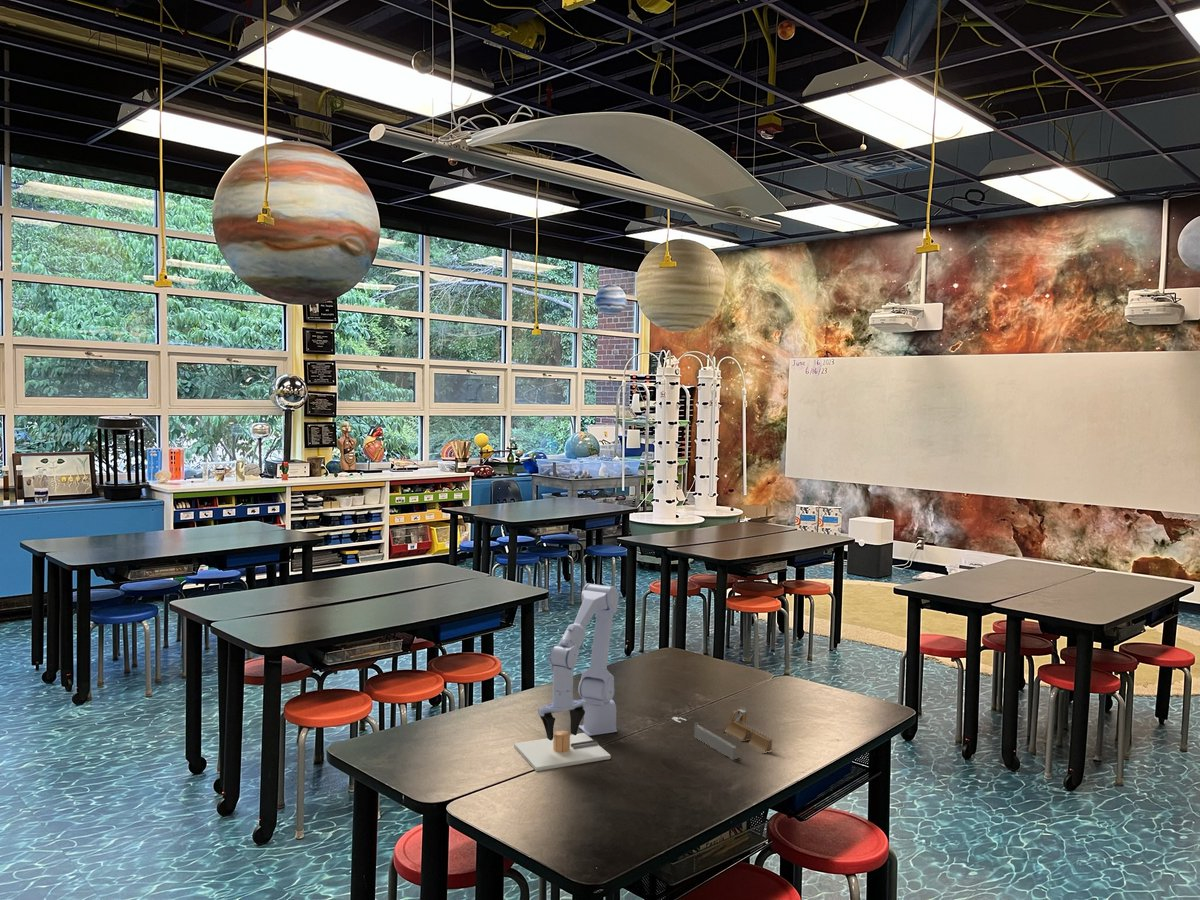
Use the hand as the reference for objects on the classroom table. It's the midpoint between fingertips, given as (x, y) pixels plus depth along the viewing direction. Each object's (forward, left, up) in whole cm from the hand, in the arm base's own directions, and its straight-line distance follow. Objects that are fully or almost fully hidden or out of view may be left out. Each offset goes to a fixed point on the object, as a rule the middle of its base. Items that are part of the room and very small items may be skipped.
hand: (561, 736), depth 235 cm
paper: (-46, -15, -5) cm, 49 cm away
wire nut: (0, 0, -4) cm, 4 cm away
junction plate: (0, 0, -5) cm, 5 cm away
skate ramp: (-54, +13, -5) cm, 56 cm away
